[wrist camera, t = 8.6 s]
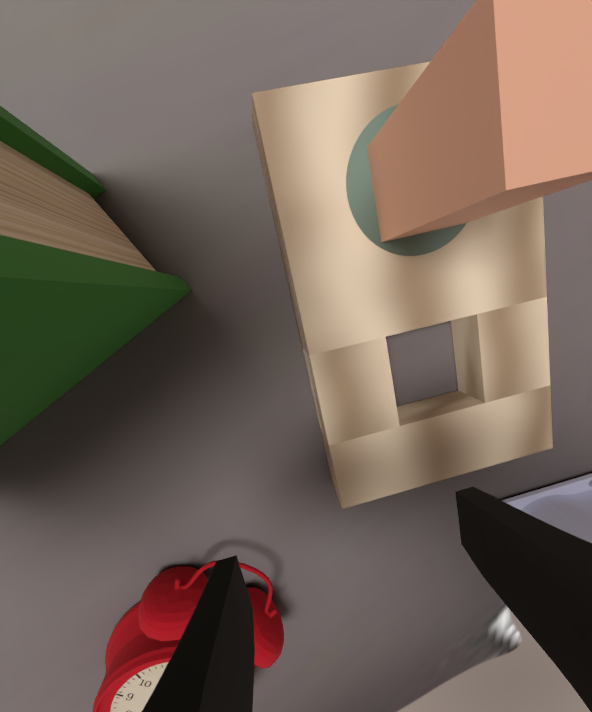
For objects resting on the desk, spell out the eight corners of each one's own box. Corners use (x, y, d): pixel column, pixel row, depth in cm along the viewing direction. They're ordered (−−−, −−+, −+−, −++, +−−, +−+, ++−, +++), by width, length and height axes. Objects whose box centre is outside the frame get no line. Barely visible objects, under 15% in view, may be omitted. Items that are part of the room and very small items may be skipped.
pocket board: (497, 78, 17) (538, 41, 15) (519, 431, 22) (554, 448, 19) (252, 123, 16) (251, 91, 14) (332, 484, 21) (343, 510, 18)
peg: (452, 130, 15) (664, -48, 7) (461, 224, 16) (657, 157, 8) (366, 147, 15) (491, -21, 7) (381, 242, 16) (505, 190, 8)
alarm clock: (46, 770, 18) (121, 644, 13) (104, 640, 24) (172, 519, 19) (208, 797, 20) (325, 697, 16) (226, 671, 26) (315, 569, 21)
